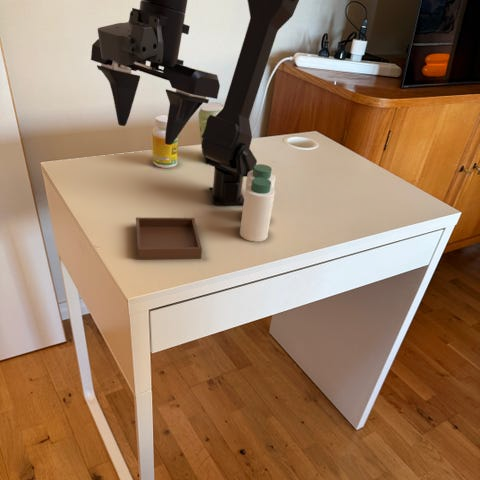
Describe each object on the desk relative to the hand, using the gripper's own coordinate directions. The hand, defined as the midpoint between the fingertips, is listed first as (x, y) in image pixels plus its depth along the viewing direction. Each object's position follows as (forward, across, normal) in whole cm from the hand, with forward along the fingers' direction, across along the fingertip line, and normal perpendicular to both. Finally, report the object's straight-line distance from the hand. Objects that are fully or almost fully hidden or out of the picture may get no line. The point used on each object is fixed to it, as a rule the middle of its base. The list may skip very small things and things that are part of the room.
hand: (144, 134), depth 65 cm
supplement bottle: (+11, -19, +29) cm, 36 cm away
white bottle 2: (+13, +12, +18) cm, 26 cm away
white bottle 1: (+12, +9, +23) cm, 27 cm away
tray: (+16, +3, +6) cm, 18 cm away
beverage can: (+8, -14, +38) cm, 42 cm away
